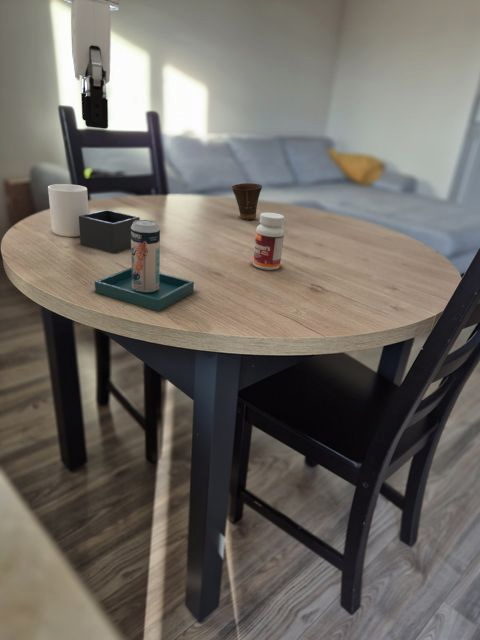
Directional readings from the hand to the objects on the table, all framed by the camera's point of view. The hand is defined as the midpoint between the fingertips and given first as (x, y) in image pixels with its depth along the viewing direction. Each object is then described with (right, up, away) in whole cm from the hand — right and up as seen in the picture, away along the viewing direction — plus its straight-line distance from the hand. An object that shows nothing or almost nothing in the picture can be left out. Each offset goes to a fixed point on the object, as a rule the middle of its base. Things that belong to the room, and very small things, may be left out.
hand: (94, 124), depth 76 cm
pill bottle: (+28, -17, +32) cm, 45 cm away
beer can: (+6, -25, +10) cm, 28 cm away
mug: (-20, -7, +39) cm, 44 cm away
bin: (-8, -12, +33) cm, 36 cm away
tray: (+6, -25, +10) cm, 28 cm away
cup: (+21, +4, +71) cm, 74 cm away
